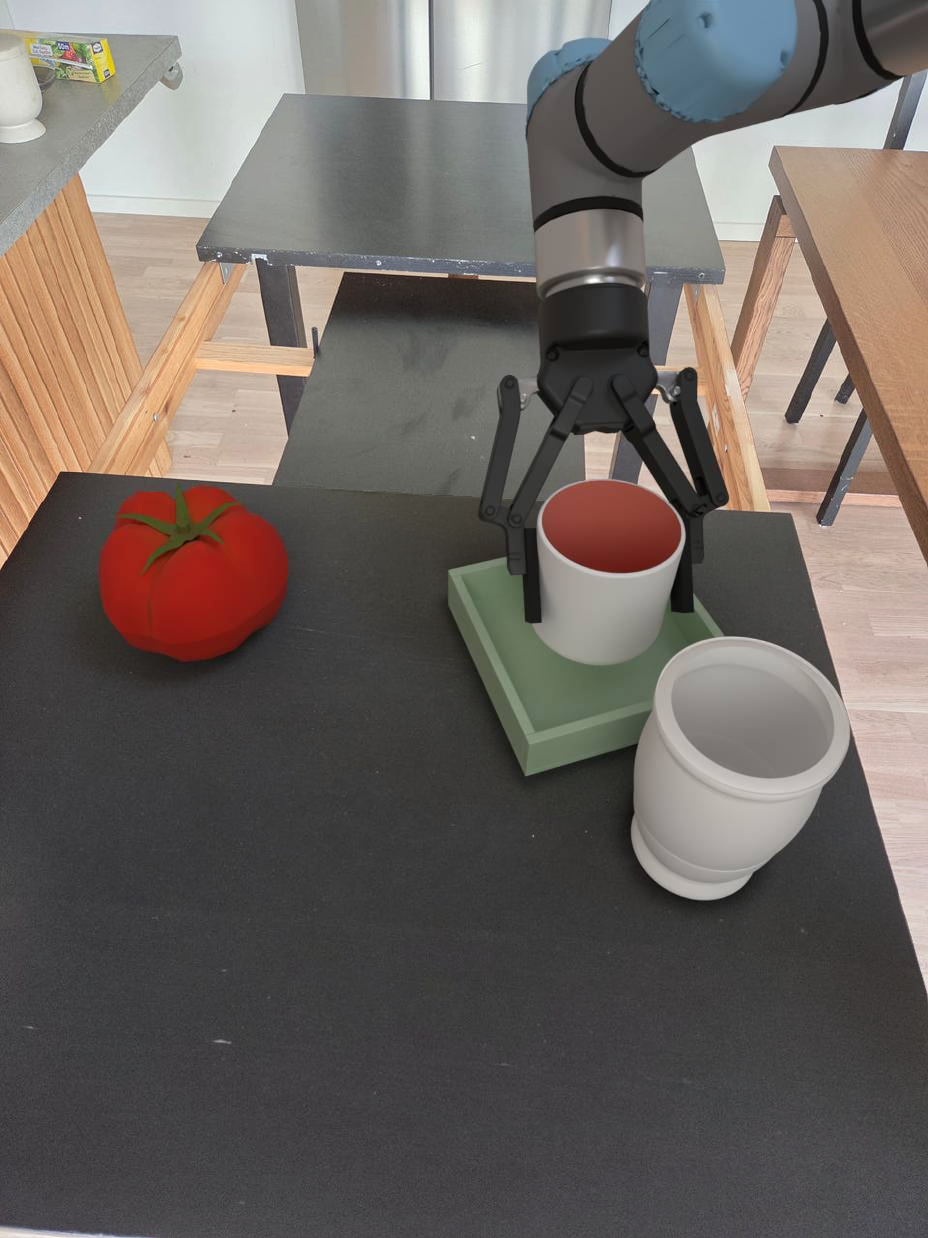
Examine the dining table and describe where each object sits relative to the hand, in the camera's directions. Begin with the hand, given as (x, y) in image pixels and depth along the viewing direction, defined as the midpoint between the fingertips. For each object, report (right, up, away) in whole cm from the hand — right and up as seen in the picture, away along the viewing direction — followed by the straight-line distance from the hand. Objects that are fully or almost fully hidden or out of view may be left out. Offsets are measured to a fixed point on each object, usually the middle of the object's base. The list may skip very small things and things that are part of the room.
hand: (608, 617), depth 59 cm
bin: (0, -3, +8) cm, 8 cm away
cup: (0, -1, +5) cm, 5 cm away
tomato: (-31, -1, +10) cm, 33 cm away
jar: (+5, -15, -3) cm, 16 cm away
